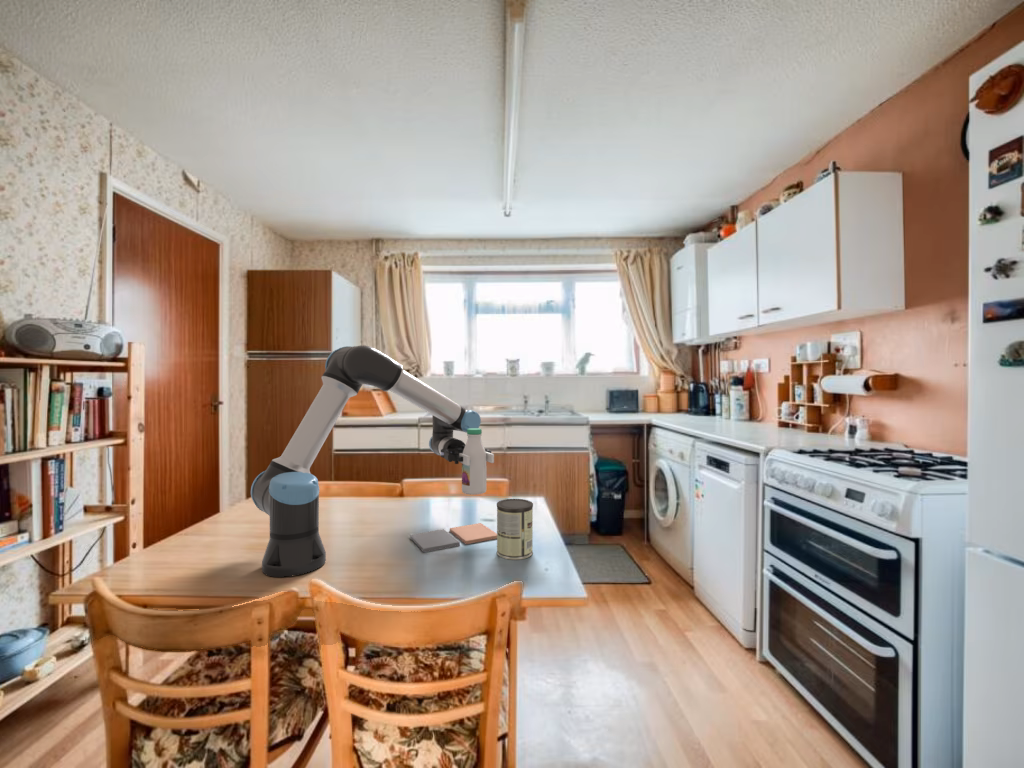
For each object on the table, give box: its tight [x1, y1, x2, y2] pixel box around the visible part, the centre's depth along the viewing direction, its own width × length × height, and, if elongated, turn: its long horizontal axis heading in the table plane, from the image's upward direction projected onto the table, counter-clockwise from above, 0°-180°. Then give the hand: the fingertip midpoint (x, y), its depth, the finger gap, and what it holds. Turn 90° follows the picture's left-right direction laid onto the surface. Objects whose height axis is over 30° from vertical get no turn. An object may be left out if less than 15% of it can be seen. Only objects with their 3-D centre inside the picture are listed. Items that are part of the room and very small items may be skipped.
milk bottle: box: [461, 427, 487, 496], centre depth 144 cm, size 8×8×20 cm
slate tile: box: [409, 528, 461, 553], centre depth 138 cm, size 11×13×1 cm
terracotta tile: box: [449, 522, 497, 545], centre depth 144 cm, size 11×13×1 cm
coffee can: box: [496, 498, 534, 561], centre depth 130 cm, size 10×10×14 cm
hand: (480, 459), depth 140 cm, fingers closed on milk bottle, 7 cm apart
